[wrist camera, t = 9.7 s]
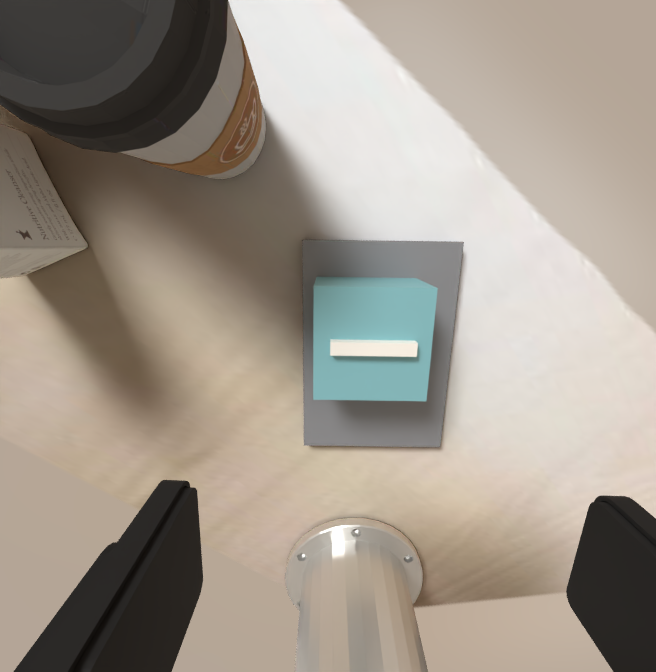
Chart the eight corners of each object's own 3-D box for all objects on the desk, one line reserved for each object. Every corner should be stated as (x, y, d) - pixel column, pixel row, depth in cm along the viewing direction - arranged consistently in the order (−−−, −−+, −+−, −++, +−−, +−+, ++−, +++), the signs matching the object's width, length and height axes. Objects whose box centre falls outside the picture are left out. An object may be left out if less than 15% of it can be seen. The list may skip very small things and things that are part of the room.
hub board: (436, 440, 29) (456, 478, 24) (304, 438, 29) (300, 476, 24) (458, 241, 25) (488, 242, 20) (303, 239, 25) (297, 240, 20)
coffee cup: (249, 219, 24) (131, 192, 10) (136, 155, 23) (-178, 21, 9) (305, 99, 22) (260, -151, 8) (185, 23, 21) (-120, -427, 7)
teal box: (416, 278, 24) (441, 289, 19) (408, 371, 26) (429, 405, 21) (316, 276, 24) (313, 287, 19) (316, 369, 26) (312, 404, 21)
